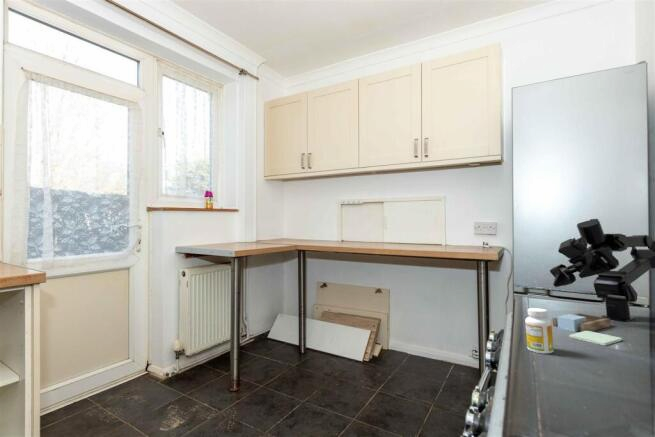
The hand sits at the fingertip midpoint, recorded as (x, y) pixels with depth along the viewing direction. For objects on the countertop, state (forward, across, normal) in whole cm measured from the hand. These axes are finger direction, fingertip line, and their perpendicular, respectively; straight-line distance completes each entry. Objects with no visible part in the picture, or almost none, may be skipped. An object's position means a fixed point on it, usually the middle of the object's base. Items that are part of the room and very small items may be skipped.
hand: (566, 281), depth 94 cm
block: (+4, -6, +12) cm, 14 cm away
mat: (+9, +2, +13) cm, 16 cm away
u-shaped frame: (0, -7, +13) cm, 15 cm away
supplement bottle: (+27, +5, +6) cm, 28 cm away
